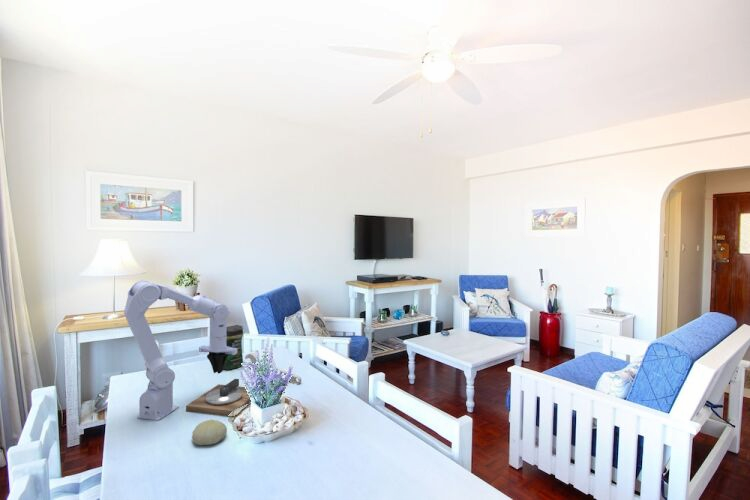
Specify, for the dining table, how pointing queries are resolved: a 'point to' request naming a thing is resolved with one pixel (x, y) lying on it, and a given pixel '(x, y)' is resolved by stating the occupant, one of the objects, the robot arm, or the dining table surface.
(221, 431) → the sea urchin shell
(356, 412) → the dining table surface
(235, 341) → the coffee jar
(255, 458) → the dining table surface
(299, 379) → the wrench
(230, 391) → the dial
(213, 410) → the dial base
